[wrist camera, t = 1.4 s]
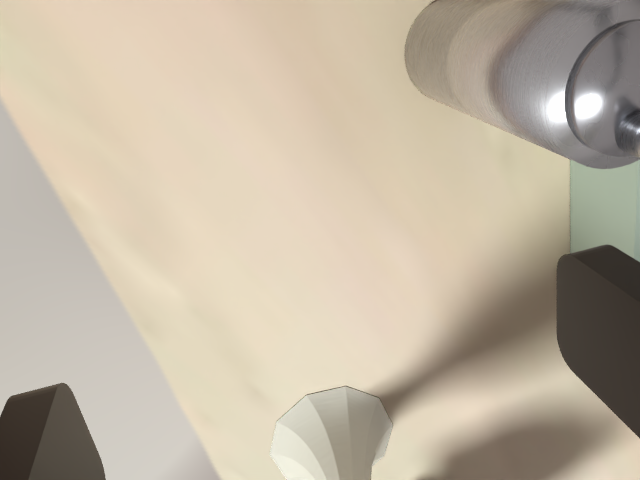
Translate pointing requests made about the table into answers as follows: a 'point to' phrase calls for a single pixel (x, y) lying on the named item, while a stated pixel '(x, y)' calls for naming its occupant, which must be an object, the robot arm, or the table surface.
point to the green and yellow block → (605, 208)
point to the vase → (331, 436)
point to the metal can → (537, 71)
